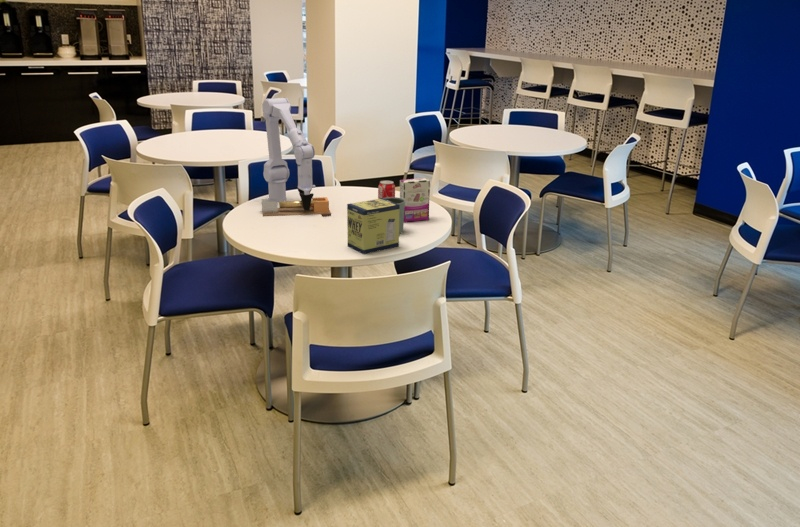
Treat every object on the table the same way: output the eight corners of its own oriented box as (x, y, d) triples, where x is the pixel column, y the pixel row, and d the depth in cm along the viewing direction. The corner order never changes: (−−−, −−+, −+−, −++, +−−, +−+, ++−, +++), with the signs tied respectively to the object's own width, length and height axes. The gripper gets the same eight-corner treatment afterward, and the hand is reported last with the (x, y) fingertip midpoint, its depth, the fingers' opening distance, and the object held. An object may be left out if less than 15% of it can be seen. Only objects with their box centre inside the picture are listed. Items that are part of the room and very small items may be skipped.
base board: (261, 210, 280) (261, 208, 279) (327, 208, 285) (327, 206, 285) (262, 218, 269) (262, 216, 268) (331, 216, 274) (330, 213, 274)
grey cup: (401, 235, 252) (402, 204, 248) (375, 233, 254) (375, 202, 250) (406, 228, 261) (407, 197, 257) (381, 226, 263) (381, 195, 259)
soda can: (374, 209, 285) (374, 181, 281) (388, 206, 290) (388, 179, 285) (384, 213, 280) (384, 184, 276) (398, 210, 284) (398, 182, 280)
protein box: (346, 246, 239) (346, 203, 234) (382, 238, 248) (383, 197, 243) (363, 254, 231) (363, 210, 226) (399, 246, 240) (400, 203, 235)
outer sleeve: (262, 210, 276) (261, 199, 274) (277, 210, 277) (276, 198, 275) (262, 213, 272) (261, 202, 270) (277, 213, 273) (277, 201, 271)
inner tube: (279, 208, 277) (279, 199, 275) (318, 206, 280) (318, 198, 279) (279, 210, 273) (279, 201, 272) (319, 208, 277) (319, 200, 275)
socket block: (312, 208, 281) (312, 197, 280) (327, 207, 282) (326, 197, 281) (314, 212, 275) (313, 201, 274) (328, 212, 276) (328, 201, 275)
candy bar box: (424, 217, 276) (425, 177, 270) (429, 220, 272) (430, 180, 266) (398, 219, 272) (399, 179, 266) (403, 222, 268) (404, 182, 262)
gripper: (316, 178, 267) (317, 212, 271) (313, 170, 280) (313, 202, 285) (298, 179, 265) (299, 212, 270) (296, 171, 278) (296, 203, 283)
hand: (305, 207), depth 277 cm, fingers open, 7 cm apart
